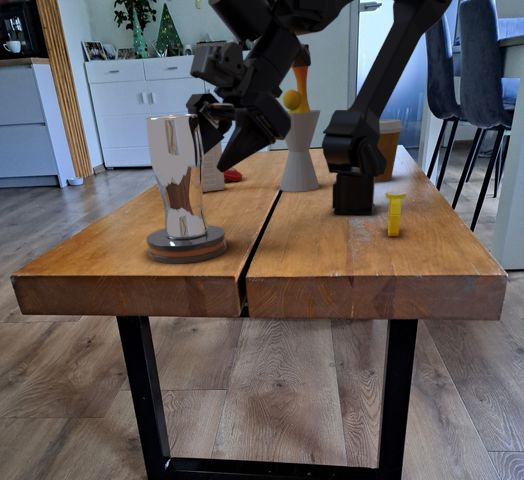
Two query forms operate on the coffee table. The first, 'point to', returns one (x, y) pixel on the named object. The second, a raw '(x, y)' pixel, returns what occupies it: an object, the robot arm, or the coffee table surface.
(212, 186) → the photo printer
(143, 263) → the coffee table surface
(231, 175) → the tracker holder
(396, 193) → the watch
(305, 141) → the lava lamp
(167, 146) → the beer glass
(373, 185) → the robot arm
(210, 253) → the coaster stack
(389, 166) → the disposable coffee cup
